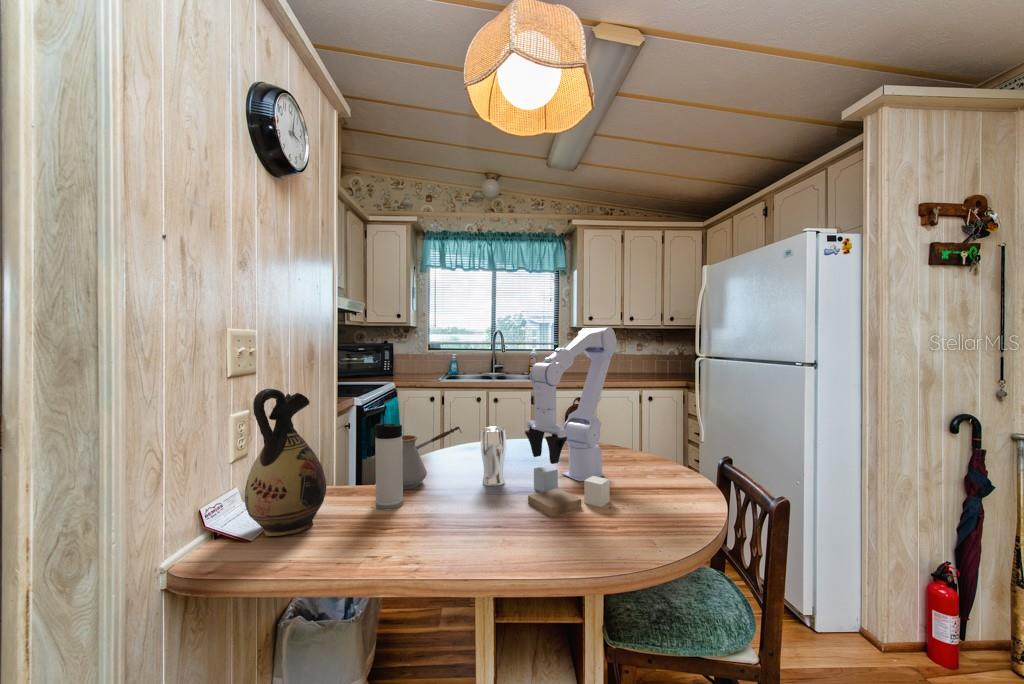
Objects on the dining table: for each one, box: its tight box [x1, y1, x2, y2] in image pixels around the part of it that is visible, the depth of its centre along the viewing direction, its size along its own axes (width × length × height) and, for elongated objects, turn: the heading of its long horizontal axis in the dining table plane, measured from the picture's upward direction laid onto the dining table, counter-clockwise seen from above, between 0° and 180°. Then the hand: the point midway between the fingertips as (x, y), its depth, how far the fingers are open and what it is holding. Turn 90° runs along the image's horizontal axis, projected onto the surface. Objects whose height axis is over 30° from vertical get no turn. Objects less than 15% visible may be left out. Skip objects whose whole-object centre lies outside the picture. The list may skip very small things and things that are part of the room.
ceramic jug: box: [244, 388, 327, 537], centre depth 91 cm, size 17×15×30 cm
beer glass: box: [480, 425, 507, 487], centre depth 119 cm, size 7×7×15 cm
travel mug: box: [374, 423, 404, 511], centre depth 104 cm, size 6×7×20 cm
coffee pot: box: [402, 426, 463, 490], centre depth 120 cm, size 21×12×15 cm, turn 107°
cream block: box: [583, 476, 611, 508], centre depth 105 cm, size 4×4×6 cm
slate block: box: [533, 465, 559, 493], centre depth 114 cm, size 4×4×6 cm
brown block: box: [527, 487, 582, 517], centre depth 103 cm, size 9×9×2 cm
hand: (545, 459), depth 114 cm, fingers open, 7 cm apart
